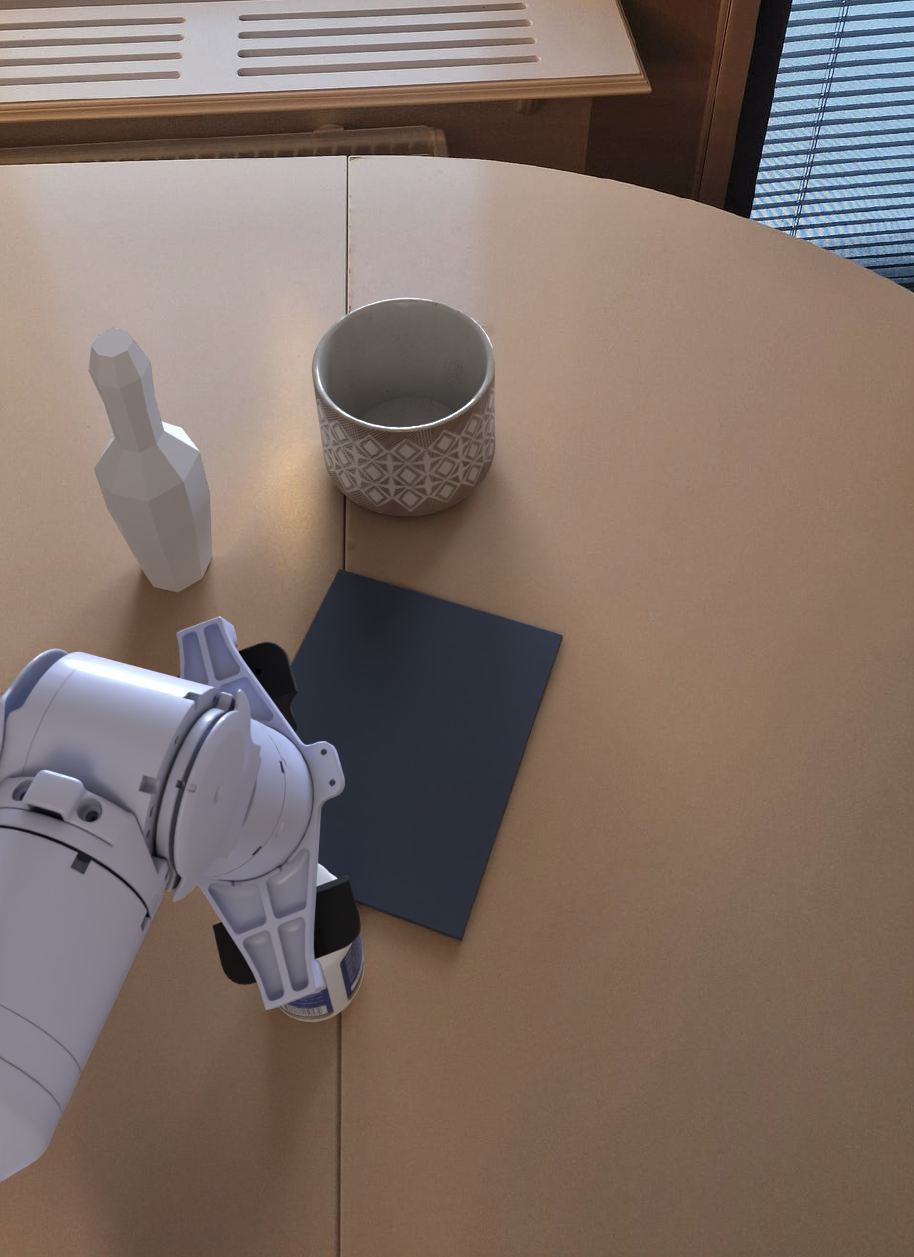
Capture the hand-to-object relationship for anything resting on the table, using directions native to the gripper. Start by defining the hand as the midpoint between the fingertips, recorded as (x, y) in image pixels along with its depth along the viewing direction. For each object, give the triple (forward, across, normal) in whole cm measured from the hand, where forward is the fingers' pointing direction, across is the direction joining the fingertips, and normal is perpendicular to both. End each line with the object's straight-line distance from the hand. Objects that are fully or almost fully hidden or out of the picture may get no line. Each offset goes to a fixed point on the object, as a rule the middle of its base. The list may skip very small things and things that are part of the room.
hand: (296, 815), depth 59 cm
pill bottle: (+16, -6, +4) cm, 18 cm away
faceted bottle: (+24, +22, +9) cm, 34 cm away
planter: (+29, +25, -9) cm, 39 cm away
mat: (+21, +5, -3) cm, 22 cm away
